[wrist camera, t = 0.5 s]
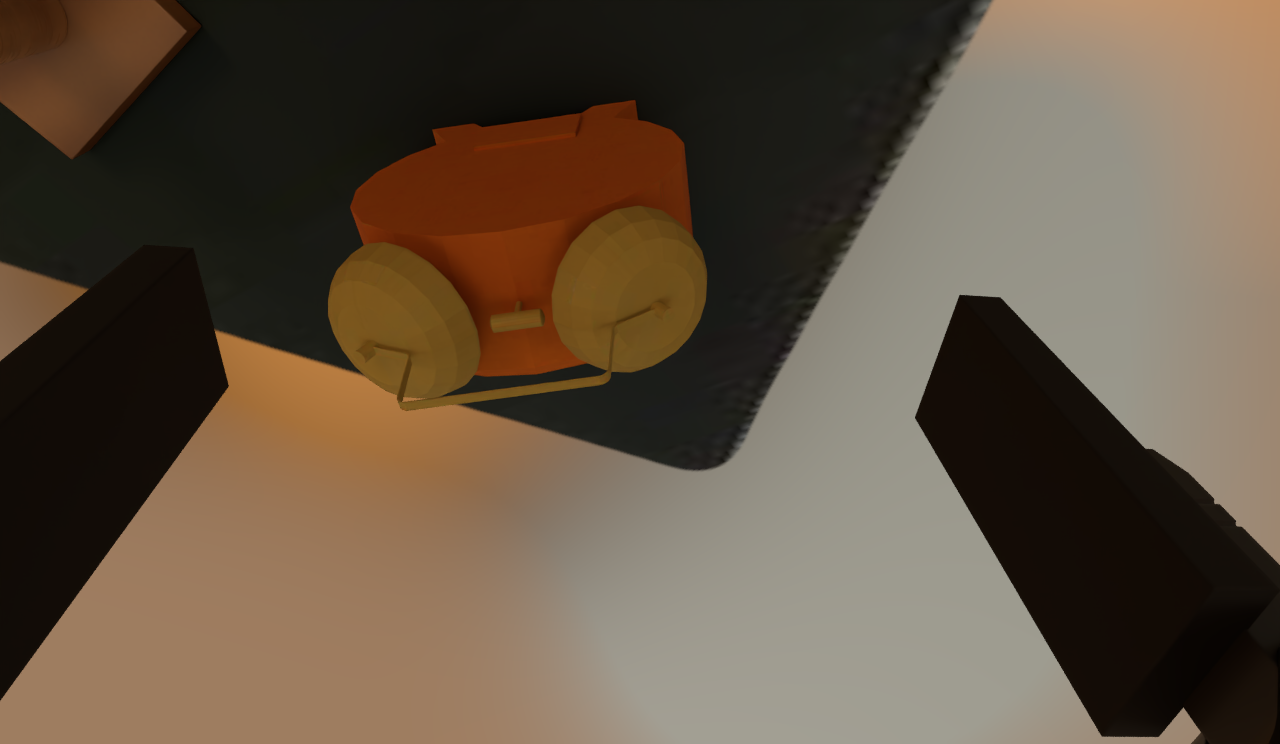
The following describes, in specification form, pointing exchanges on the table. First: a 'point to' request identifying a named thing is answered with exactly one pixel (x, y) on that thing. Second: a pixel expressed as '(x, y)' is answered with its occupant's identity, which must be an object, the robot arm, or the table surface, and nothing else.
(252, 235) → the table surface
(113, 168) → the table surface
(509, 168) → the alarm clock
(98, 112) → the stand
